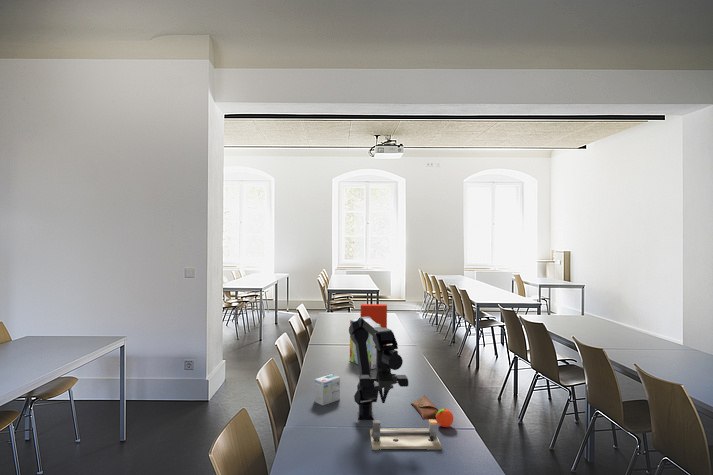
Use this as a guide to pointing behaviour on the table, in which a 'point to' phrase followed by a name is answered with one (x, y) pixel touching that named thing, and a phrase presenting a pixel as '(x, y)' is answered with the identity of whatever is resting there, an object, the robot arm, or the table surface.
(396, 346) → the robot arm
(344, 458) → the table surface
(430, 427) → the slider
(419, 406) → the sunglasses case
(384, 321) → the file binder
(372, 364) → the snack box
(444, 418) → the clementine
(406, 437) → the board
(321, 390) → the light bulb box
